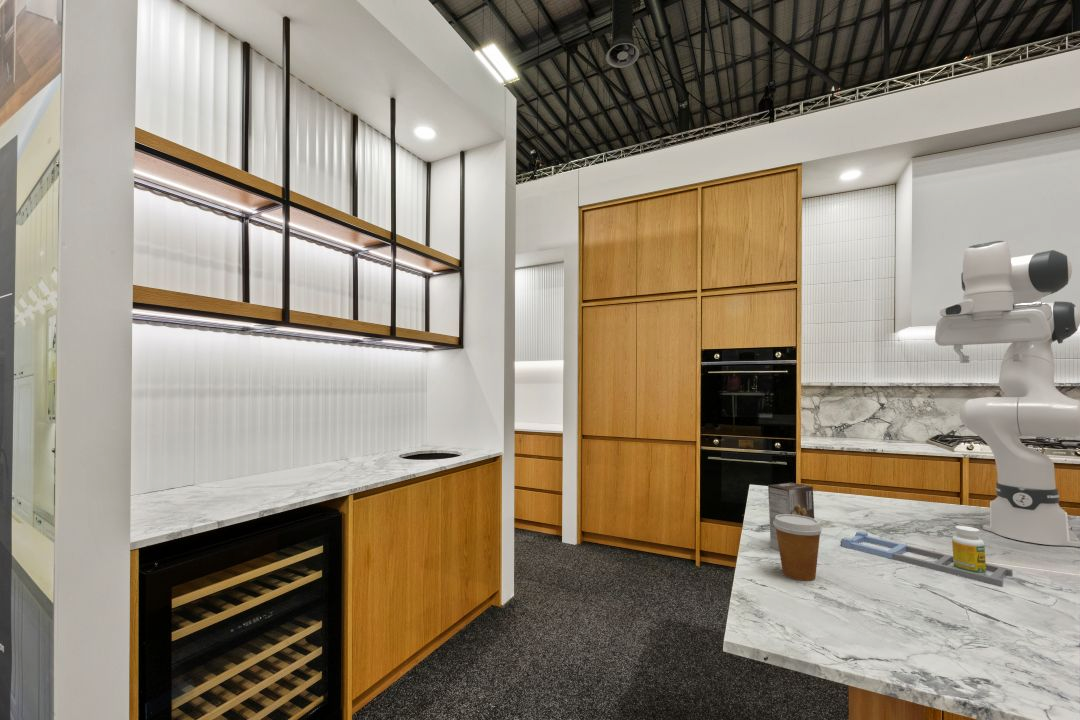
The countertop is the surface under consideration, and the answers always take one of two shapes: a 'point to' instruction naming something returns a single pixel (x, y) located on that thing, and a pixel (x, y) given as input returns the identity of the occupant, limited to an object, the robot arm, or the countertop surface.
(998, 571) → the blue ladder rack
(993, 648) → the countertop surface
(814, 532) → the disposable coffee cup
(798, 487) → the coffee box
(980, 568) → the supplement bottle
